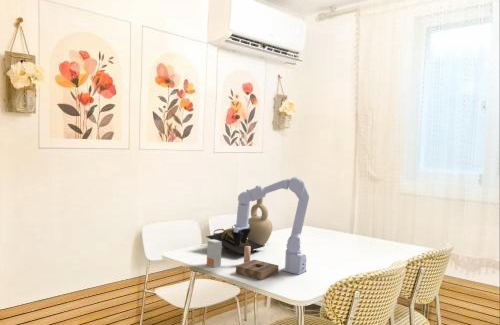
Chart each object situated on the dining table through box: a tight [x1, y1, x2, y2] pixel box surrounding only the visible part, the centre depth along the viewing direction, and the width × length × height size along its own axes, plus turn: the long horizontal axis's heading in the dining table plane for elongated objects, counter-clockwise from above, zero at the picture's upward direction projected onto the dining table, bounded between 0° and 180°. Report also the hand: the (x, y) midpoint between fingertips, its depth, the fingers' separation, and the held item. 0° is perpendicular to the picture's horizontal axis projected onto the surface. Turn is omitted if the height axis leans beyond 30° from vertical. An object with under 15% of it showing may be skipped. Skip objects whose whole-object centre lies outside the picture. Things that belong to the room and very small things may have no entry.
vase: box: [247, 197, 273, 246], centre depth 235 cm, size 17×17×30 cm
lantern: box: [205, 225, 264, 255], centre depth 220 cm, size 14×23×30 cm
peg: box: [243, 246, 252, 263], centre depth 193 cm, size 3×3×9 cm
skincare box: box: [206, 239, 223, 268], centre depth 190 cm, size 6×4×12 cm
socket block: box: [235, 259, 279, 281], centre depth 181 cm, size 14×14×4 cm
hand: (240, 244), depth 191 cm, fingers open, 7 cm apart
